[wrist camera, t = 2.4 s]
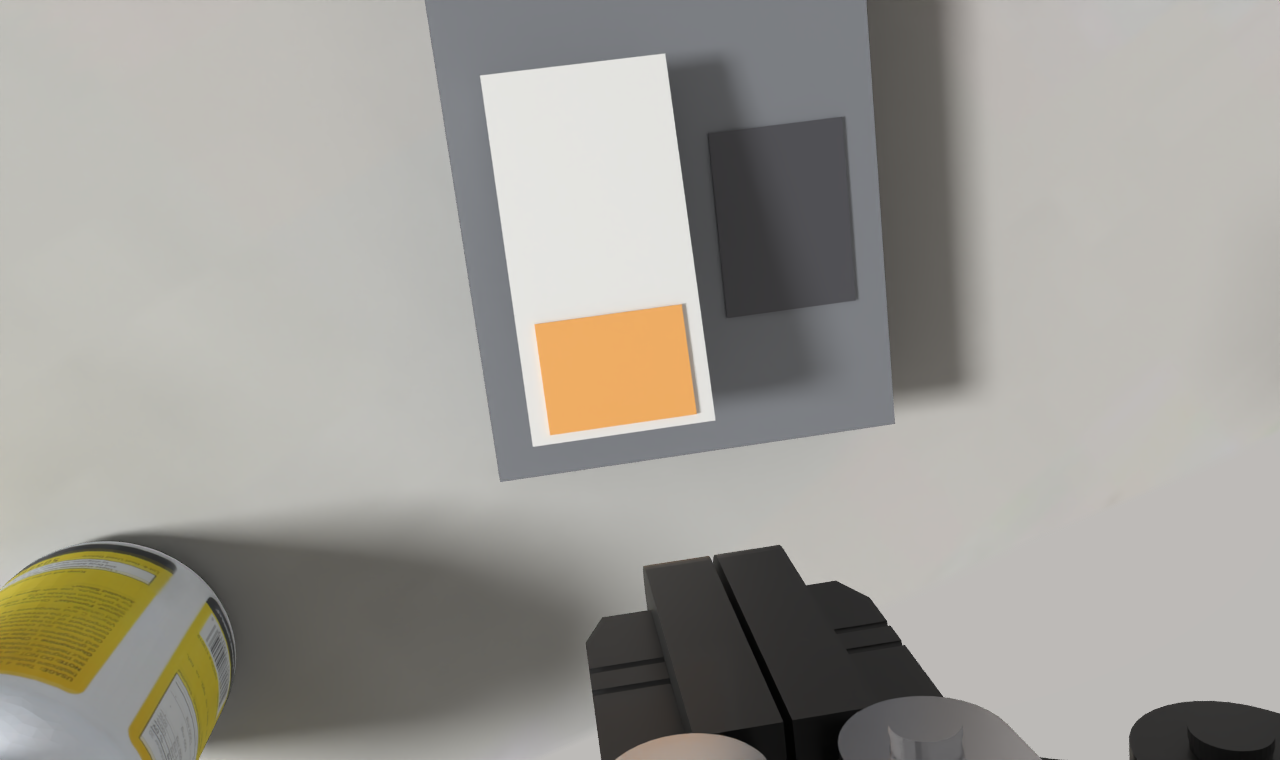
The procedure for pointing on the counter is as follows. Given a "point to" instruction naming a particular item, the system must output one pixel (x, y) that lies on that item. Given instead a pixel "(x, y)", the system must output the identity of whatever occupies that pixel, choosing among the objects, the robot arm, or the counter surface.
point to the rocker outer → (598, 248)
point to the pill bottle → (111, 657)
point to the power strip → (705, 208)
